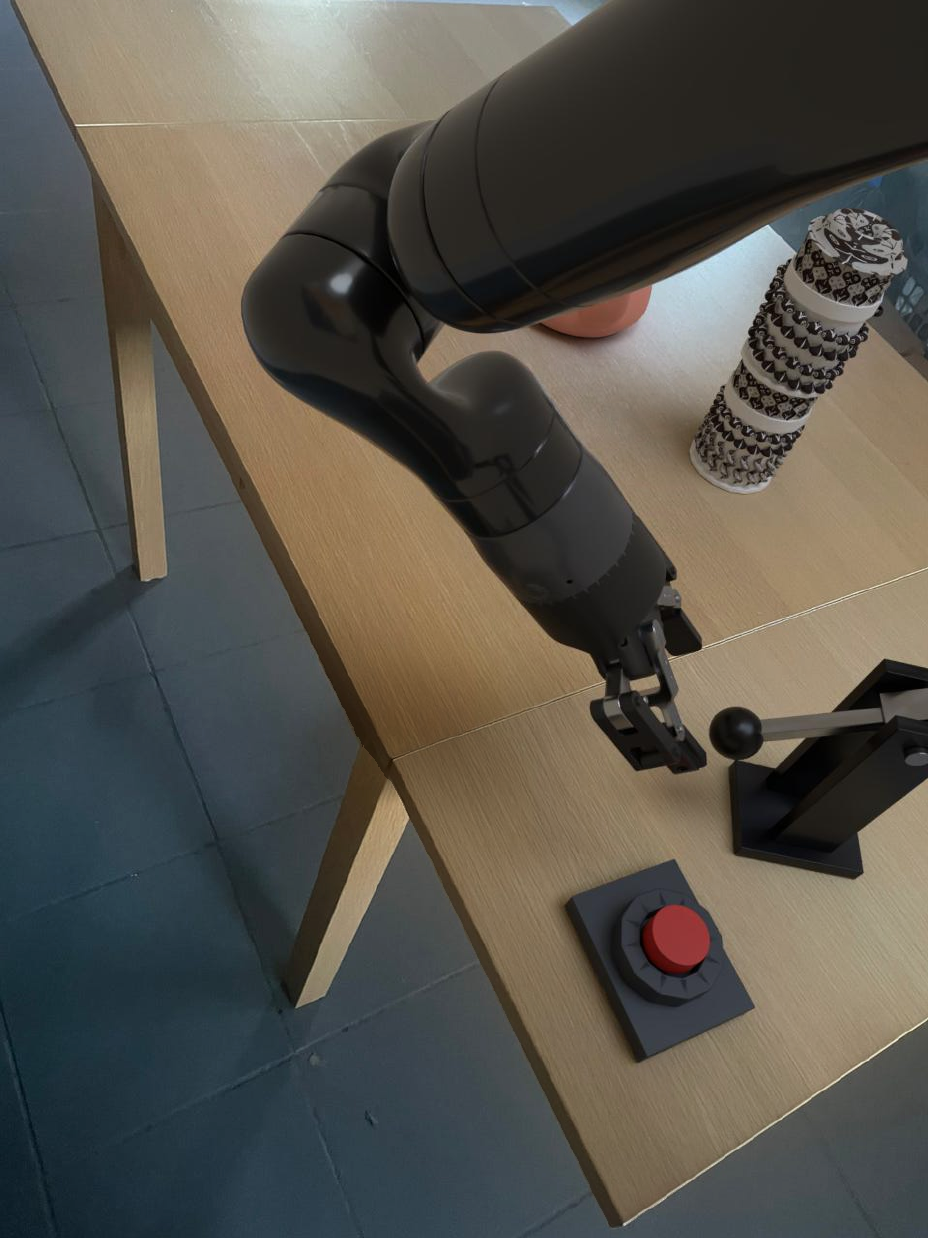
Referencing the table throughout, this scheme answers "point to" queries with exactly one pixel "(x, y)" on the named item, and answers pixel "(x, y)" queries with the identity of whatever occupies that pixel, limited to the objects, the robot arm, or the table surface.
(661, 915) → the button
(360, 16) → the table surface
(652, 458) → the table surface
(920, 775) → the bracket
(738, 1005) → the control block
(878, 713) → the lever
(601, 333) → the teapot
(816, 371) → the decorative candle
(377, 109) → the table surface
